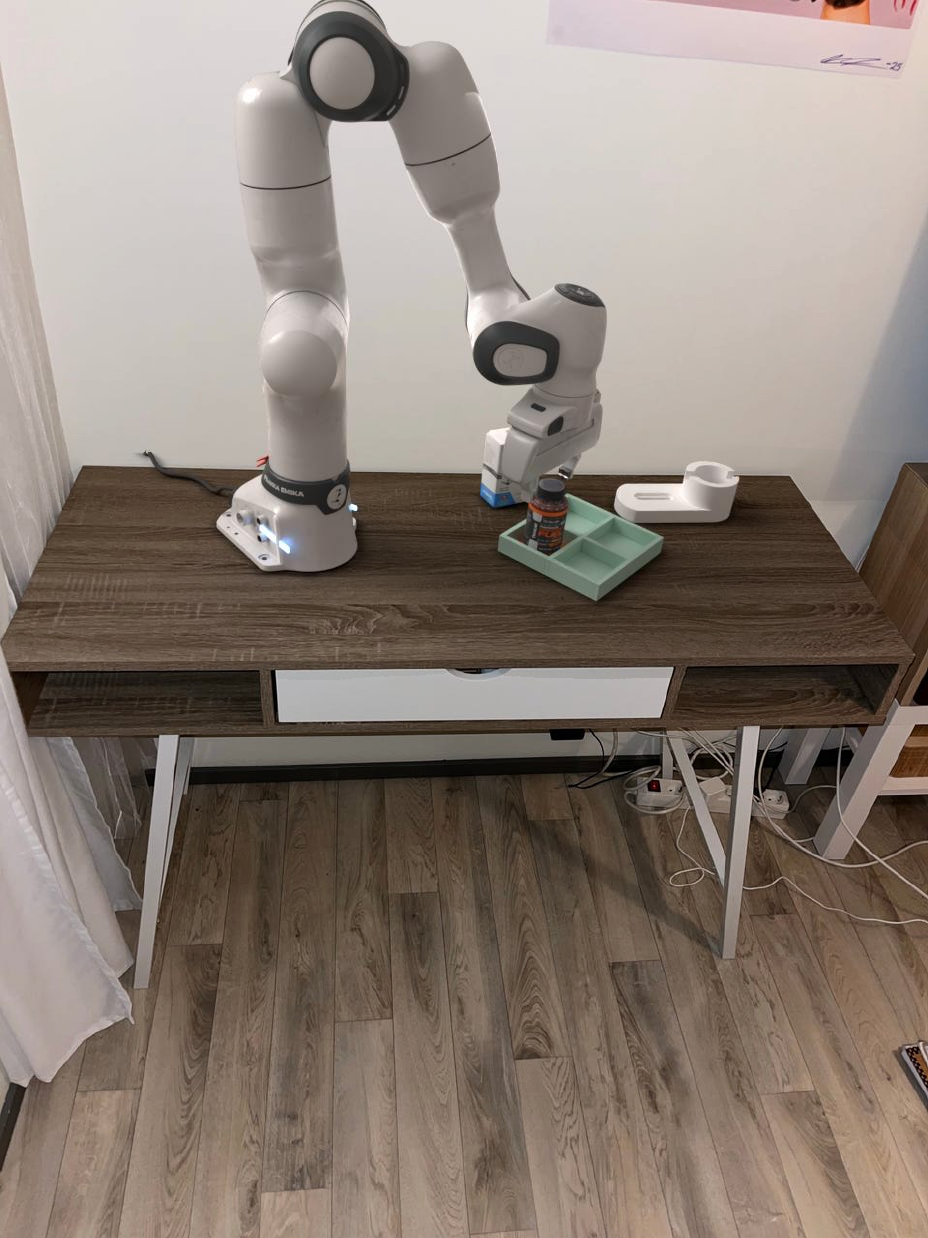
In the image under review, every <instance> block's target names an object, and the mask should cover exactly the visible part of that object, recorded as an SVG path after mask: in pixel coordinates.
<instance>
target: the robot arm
mask: <svg viewBox="0 0 928 1238" xmlns="http://www.w3.org/2000/svg"><path fill="white" fill-rule="evenodd" d="M333 122H338V123H352V124H353V123H366V122H367V123H371V122H372V123H375V122H377V123H378V122H388V124H389V126H390V127H391V130H392V132H393V135H394V136H395V139H396V143H397V145H398V148H399V152H400V155H401V158H402V162H403V164H404V167H405V171H406V174H407V176H408V179H409V181H410V183H411V186H412V188H413V190H414V193H415V194H416V197H417V199H418V201H419V202H420V205H421V206H422V208H423V209H424V211H425V213H426V214H427V216H428V217H429V218H431V219H432V220H433V221H435V222H437V223H440V224H441V225H442V226H443V227H444V229H445V230H446V232H447V233H448V235H449V237H450V240H451V243H452V245H453V248H454V252H455V253H456V254H455V255H456V257H457V260H458V263H459V266H460V270H461V273H462V276H463V279H464V282H465V288H466V299H465V305H464V314H463V315H464V326H465V329H466V332H467V335H468V338H469V339H468V340H469V343H470V349H471V354H472V359H473V363H474V366H475V368H476V370H477V371H478V373H479V374H480V375H481V376H482V377H483V378H484V379H485V380H487V381H488V382H490V383H491V384H494V385H499V386H505V387H507V386H526V385H531V387H530V388H529V389H527V391H526V393H525V394H524V395H523V396H522V397H521V399H520V400H518V401H517V403H515V404H514V405H513V406H512V407H510V409H509V410H508V412H507V416H506V424H508V425H509V426H510V427H511V428H510V427H509V428H510V429H509V431H508V433H507V435H506V439H505V444H504V450H503V458H502V474H503V476H504V477H505V478H506V479H507V480H509V481H511V482H513V483H516V484H518V485H520V487H521V489H522V490H521V499H522V500H523V501H525V502H524V503H527V504H529V503H530V502H531V501H533V500H535V499H536V494H537V490H536V489H534V488H533V483H535V481H536V478H538V477H539V478H540V477H541V476H543V475H545V474H547V473H548V472H550V471H552V470H554V469H556V468H558V473H557V478H558V480H559V481H562V482H569V480H571V479H573V477H574V472H575V469H576V467H577V465H578V464H579V461H581V458H582V454H584V453H585V452H587V451H588V450H590V449H592V448H594V447H595V446H596V445H597V443H598V442H599V440H600V437H601V431H602V423H603V412H604V411H603V405H602V403H601V398H602V393H601V392H600V389H598V388H597V371H598V368H599V367H600V364H601V362H602V360H603V359H602V358H603V355H604V348H605V343H606V336H607V326H608V325H607V324H608V312H607V307H606V305H605V303H604V301H603V300H602V299H601V297H600V296H599V295H597V294H596V293H595V292H593V291H592V290H590V289H589V288H587V287H585V286H581V285H578V284H574V283H568V282H565V283H557V284H555V285H554V286H552V287H551V288H550V289H549V290H547V291H545V292H544V293H543V294H540V295H538V296H537V297H534V298H531V297H530V295H529V294H528V292H527V291H526V290H525V289H524V287H523V286H522V285H521V284H520V283H519V282H518V281H517V280H516V278H515V277H514V276H513V274H512V272H511V270H510V267H509V265H508V261H507V258H506V255H505V250H504V247H503V244H502V239H501V236H500V233H499V229H498V225H497V219H496V203H497V201H498V200H499V197H500V194H501V188H502V187H501V175H500V166H499V159H498V153H497V148H496V144H495V139H494V135H493V132H492V128H491V126H490V125H491V124H490V121H489V119H488V114H487V111H486V107H485V106H484V103H483V100H482V96H481V95H480V92H479V90H478V87H477V85H476V82H475V80H474V78H473V75H472V73H471V71H470V69H469V67H468V65H467V63H466V61H465V58H464V57H463V55H462V54H461V52H460V51H459V50H458V49H457V48H456V47H455V46H454V45H451V44H449V43H447V42H443V41H436V40H430V41H423V42H419V43H416V44H413V45H411V46H409V45H407V46H406V45H401V44H398V43H397V42H395V41H394V40H393V39H392V38H391V36H390V35H389V32H388V30H387V27H386V25H385V22H384V20H383V19H382V17H381V16H380V15H379V13H378V12H377V10H376V9H375V8H374V7H372V6H371V5H370V4H369V3H368V2H366V1H365V0H319V1H318V2H316V3H315V4H314V5H313V6H312V7H311V8H310V10H309V11H308V12H307V14H306V15H305V17H303V20H302V21H301V23H300V25H299V27H298V30H297V32H296V36H295V39H294V44H293V47H292V49H291V51H290V54H289V57H288V58H287V66H286V67H285V68H283V69H281V70H276V71H267V72H262V73H259V74H257V75H254V76H252V77H251V78H249V79H248V80H246V81H245V82H244V83H243V84H242V85H241V86H240V87H239V89H238V92H237V93H236V96H235V100H234V147H235V148H234V149H235V150H234V151H235V159H236V169H237V176H238V182H239V190H240V195H241V196H240V197H241V203H242V209H243V215H244V221H245V226H246V234H247V240H248V247H249V250H250V252H251V254H252V255H253V258H254V262H255V265H256V268H257V272H258V275H259V279H260V284H261V287H262V291H263V297H264V298H263V299H264V319H263V322H262V323H263V324H262V327H261V330H260V333H259V337H258V342H257V350H258V363H259V371H260V379H261V385H262V386H261V387H262V393H263V399H264V404H265V405H264V406H265V412H266V425H267V427H266V428H267V445H268V446H267V447H268V454H267V455H265V456H263V457H260V458H258V459H256V460H255V462H257V464H256V465H255V466H256V468H259V467H261V466H264V468H263V471H262V473H261V474H259V475H257V476H256V477H254V478H252V479H250V480H249V481H246V482H245V483H243V484H242V485H240V486H239V487H234V486H231V485H220V486H219V487H217V488H214V487H213V486H211V485H210V484H209V483H208V482H206V481H205V480H204V479H203V478H201V477H200V476H197V475H194V474H191V473H185V472H177V471H171V470H167V469H164V468H163V467H161V465H159V463H158V461H157V459H156V458H155V455H154V454H153V452H152V451H151V452H148V454H147V453H146V451H147V450H145V451H144V452H143V453H142V455H143V456H148V457H149V460H150V461H151V463H152V465H153V467H154V468H155V469H157V471H158V472H159V473H161V474H163V475H166V476H170V477H175V478H182V479H183V478H184V479H189V480H193V481H195V482H198V483H199V484H201V485H202V486H203V487H205V488H206V489H207V490H208V491H209V492H211V493H214V494H220V493H222V492H223V491H228V501H229V507H230V508H229V509H226V511H224V512H223V513H221V514H220V516H219V517H218V518H217V520H216V528H217V530H218V531H219V532H220V533H221V534H222V535H224V536H225V537H226V538H227V539H228V540H229V541H230V542H231V543H232V544H233V545H235V547H236V548H238V549H239V550H240V551H241V552H242V553H243V554H244V555H245V556H246V557H247V558H248V559H250V560H251V562H253V564H255V566H257V567H258V568H259V569H260V570H262V571H263V572H279V571H295V572H306V573H307V572H310V573H311V572H321V571H327V570H331V569H334V568H336V567H339V566H342V565H343V564H345V563H347V562H348V561H350V560H351V559H352V558H353V557H354V556H355V554H356V552H357V549H358V540H357V537H356V536H357V535H356V530H357V520H356V518H355V517H353V516H354V515H353V511H356V512H357V510H358V506H357V505H355V504H353V503H352V497H351V489H350V487H351V474H352V473H351V465H350V464H351V463H350V460H349V459H348V404H347V402H348V401H347V351H348V349H347V348H348V340H349V339H348V338H349V328H350V322H351V321H350V320H351V315H350V306H349V298H348V289H347V284H346V283H347V282H346V278H345V277H346V276H345V270H344V265H343V258H342V253H341V247H340V241H339V233H338V224H337V215H336V213H337V212H336V205H335V194H334V186H333V176H332V165H331V159H330V148H329V134H330V128H331V125H332V123H333Z"/></svg>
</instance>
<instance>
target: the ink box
mask: <svg viewBox="0 0 928 1238" xmlns="http://www.w3.org/2000/svg"><path fill="white" fill-rule="evenodd" d="M511 427H512V426H510V427H505V428H504V427H503V428H498V429H497V428H496V429H491V430H489V431H488V432H485V433H486V434H485V442H484V451H483V462H482V463H483V464H482V472H481V483H480V494H479V495H480V497H482V498H483V499H484V500H485V501H486V502H487V503H488V504H489V505H490V506H491V507H493V508H494V509H496V508H500V507H501V508H502V507H505V506H512V505H515V504H520V503H526V502H525V501H523V500H522V499H521V490H522V489H521V487H520V485H518V484H516V483H513V482H511V481H509V480H507V479H506V478H505V477H504V476H503V474H502V458H503V450H504V444H505V439H506V435H507V433H508V431H509V429H510V428H511ZM539 481H540V477H538V478H536V481H535V483H533V488H534V489H536V490H537V488H538V483H539Z"/></svg>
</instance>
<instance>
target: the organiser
mask: <svg viewBox="0 0 928 1238" xmlns="http://www.w3.org/2000/svg"><path fill="white" fill-rule="evenodd" d="M564 495H565V496H566V498H567V499H568V510H567V517H566V522H565V528H564V534H563V540H562V545H561V549H559V550H558V551H556V552H555V553H553V554H552V555H550V556H547V555H545V554H543V553H541V552H539V551H537V550H535V549H533V548H531V547H529V546H527V545H525V544H523V541H524V533H525V526H526V519H527V518H525V519H524V520H521V521H520V522H518V523H517V524H515V525H514V526H511V527H510V528H509V529H507V530H506V531H504V532H502V533H501V534H499V536H498V544H497V552H499V553H501V554H503V555H505V556H507V557H509V558H511V559H513V560H515V561H518V562H519V563H520V564H523V565H525V566H527V567H528V568H530V569H532V570H535V571H536V572H538V573H541V574H542V575H545V576H546V577H548V578H550V579H552V580H554V581H555V582H558V583H560V584H562V585H564V586H566V587H568V588H570V589H571V590H573V591H575V592H578V593H579V594H582V595H583V596H586V597H587V598H589V599H591V600H593V601H595V602H597V601H599V600H600V599H602V598H603V597H604V596H606V595H607V594H608V593H610V592H611V591H612V590H613V589H615V588H616V587H618V586H619V585H620V584H621V583H622V582H624V581H625V580H627V579H628V578H629V577H630V576H632V575H633V574H634V573H636V572H637V571H638V570H640V569H641V568H642V567H644V566H645V565H647V564H648V563H649V562H651V561H652V560H653V559H654V558H655V557H657V556H658V555H660V554H661V553H662V549H663V548H662V547H663V545H664V540H665V537H664V536H662V535H659V534H657V533H655V532H654V531H651V530H650V529H647V528H644V527H643V526H640V525H638V524H637V523H634V522H631V521H628V520H626V519H624V518H623V517H621V516H618V515H616V514H614V513H612V512H610V511H608V510H605V509H603V508H601V507H599V506H597V505H594V504H592V503H590V502H588V501H585V500H584V499H581V498H579V497H577V496H574V495H572V494H570V493H565V494H564Z"/></svg>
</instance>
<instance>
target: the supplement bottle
mask: <svg viewBox="0 0 928 1238" xmlns="http://www.w3.org/2000/svg"><path fill="white" fill-rule="evenodd" d="M565 490H566V485H565V484H564V482H563V481H562V480H560V479H556V478H551V477H550V478H549V477H547V478H542V479H540V480H539V481H538V488H537V494H536V499H535V500H533V501H531V502H530V503H528V506H527V512H526V513H527V514H526V518H525V519H526V526H525V533H524V541H523V544H525V545H527V546H529V547H531V548H533V549H535V550H537V551H539V552H541V553H543V554H545V555H547V556H550V555H552V554H553V553H555V552H556V551H558V550H559V549H561V545H562V540H563V534H564V528H565V522H566V517H567V510H568V499H567V498H566V496H565V495H566V494H565Z"/></svg>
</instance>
